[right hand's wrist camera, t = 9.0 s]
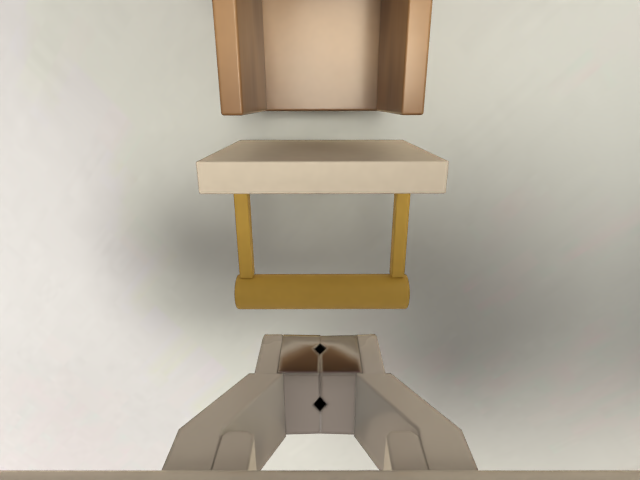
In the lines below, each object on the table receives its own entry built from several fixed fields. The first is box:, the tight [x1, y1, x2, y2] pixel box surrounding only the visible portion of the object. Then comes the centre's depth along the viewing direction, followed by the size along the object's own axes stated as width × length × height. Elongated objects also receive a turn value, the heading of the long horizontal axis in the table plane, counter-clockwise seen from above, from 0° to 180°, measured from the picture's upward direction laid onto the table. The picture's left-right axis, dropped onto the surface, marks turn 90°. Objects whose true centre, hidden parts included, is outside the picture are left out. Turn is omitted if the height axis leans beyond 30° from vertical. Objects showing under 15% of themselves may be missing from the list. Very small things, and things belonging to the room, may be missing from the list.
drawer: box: [196, 0, 449, 309], centre depth 17 cm, size 22×9×8 cm, turn 0°
